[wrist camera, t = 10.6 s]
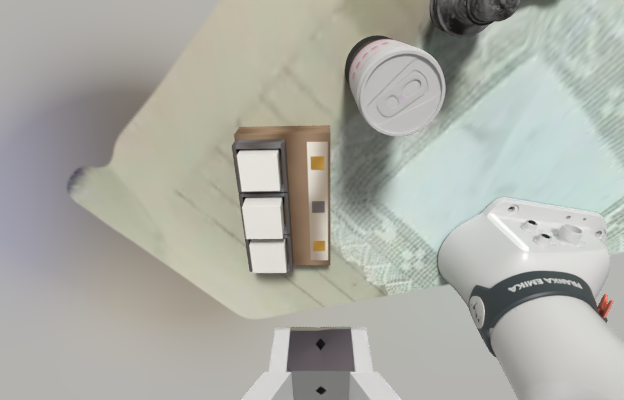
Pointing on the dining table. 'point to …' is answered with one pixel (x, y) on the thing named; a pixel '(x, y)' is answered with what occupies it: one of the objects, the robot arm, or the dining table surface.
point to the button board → (296, 187)
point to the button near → (260, 169)
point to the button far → (269, 255)
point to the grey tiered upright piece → (469, 14)
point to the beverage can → (394, 85)
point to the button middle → (263, 217)
